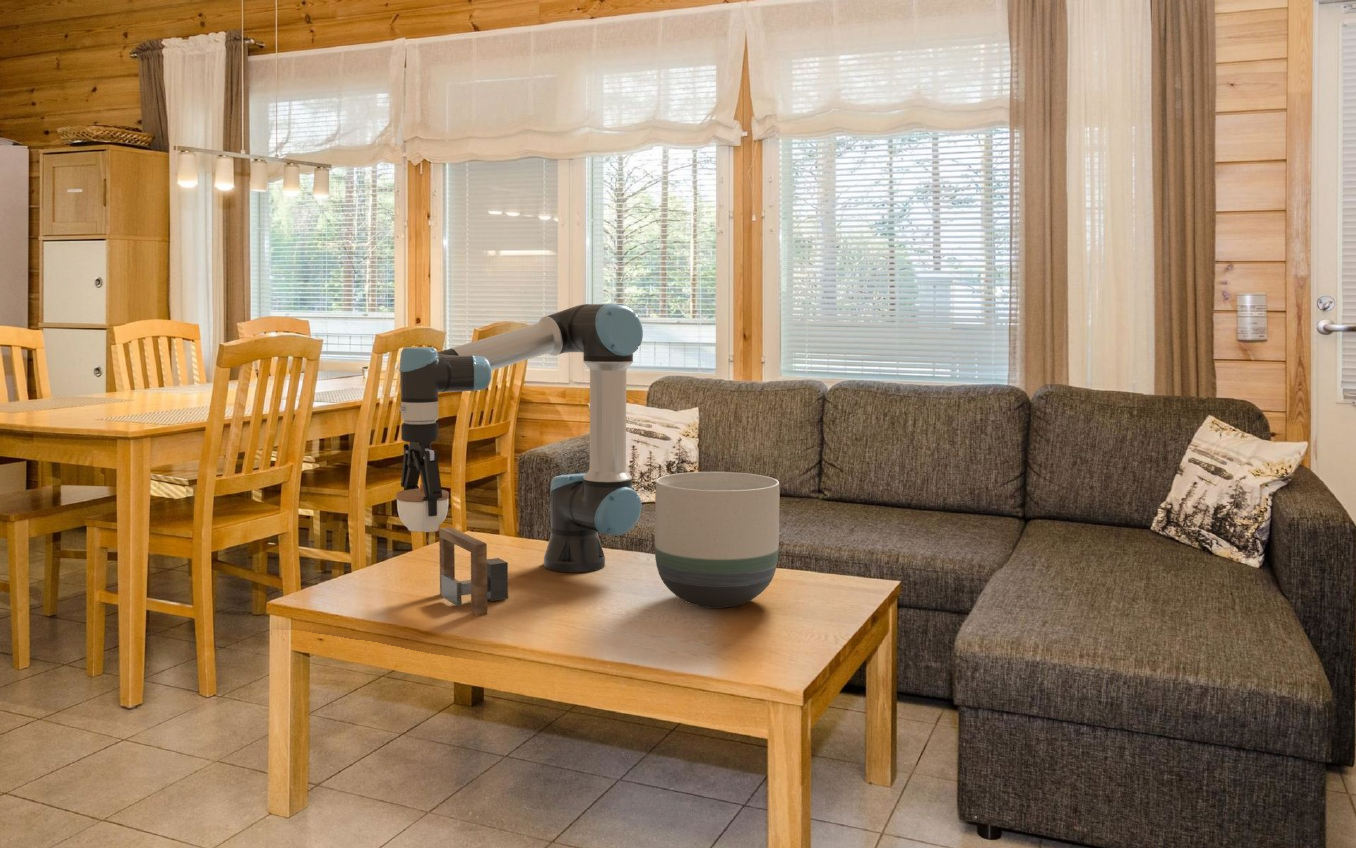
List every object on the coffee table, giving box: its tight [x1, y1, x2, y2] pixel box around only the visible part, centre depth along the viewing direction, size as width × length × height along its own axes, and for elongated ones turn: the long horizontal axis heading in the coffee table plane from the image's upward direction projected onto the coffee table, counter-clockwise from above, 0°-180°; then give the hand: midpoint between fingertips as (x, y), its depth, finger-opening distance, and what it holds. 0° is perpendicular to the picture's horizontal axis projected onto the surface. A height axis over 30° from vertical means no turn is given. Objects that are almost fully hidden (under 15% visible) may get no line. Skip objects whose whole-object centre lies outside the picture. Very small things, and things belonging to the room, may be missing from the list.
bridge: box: [438, 526, 488, 617], centre depth 233 cm, size 2×20×15 cm, turn 33°
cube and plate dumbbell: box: [441, 557, 509, 607], centre depth 235 cm, size 12×9×8 cm
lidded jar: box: [395, 484, 450, 533], centre depth 227 cm, size 11×11×9 cm
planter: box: [654, 471, 781, 609], centre depth 235 cm, size 27×27×27 cm
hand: (421, 526), depth 227 cm, fingers closed on lidded jar, 11 cm apart
